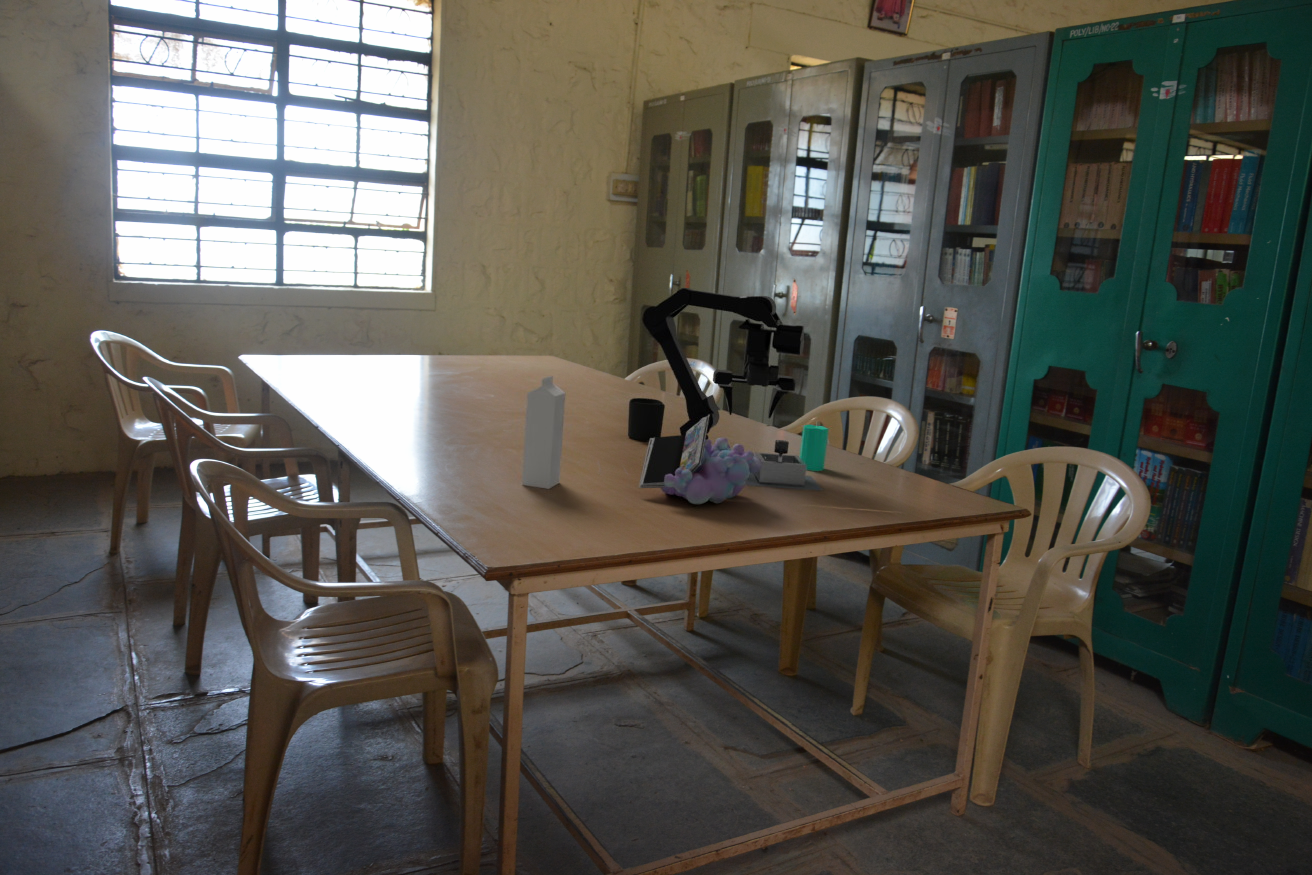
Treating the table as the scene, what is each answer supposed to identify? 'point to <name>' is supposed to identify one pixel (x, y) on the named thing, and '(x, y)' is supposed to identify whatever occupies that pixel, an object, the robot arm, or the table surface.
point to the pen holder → (645, 418)
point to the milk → (543, 435)
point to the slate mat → (808, 485)
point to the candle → (814, 447)
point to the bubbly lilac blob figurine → (697, 466)
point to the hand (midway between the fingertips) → (749, 416)
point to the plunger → (781, 448)
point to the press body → (780, 470)
